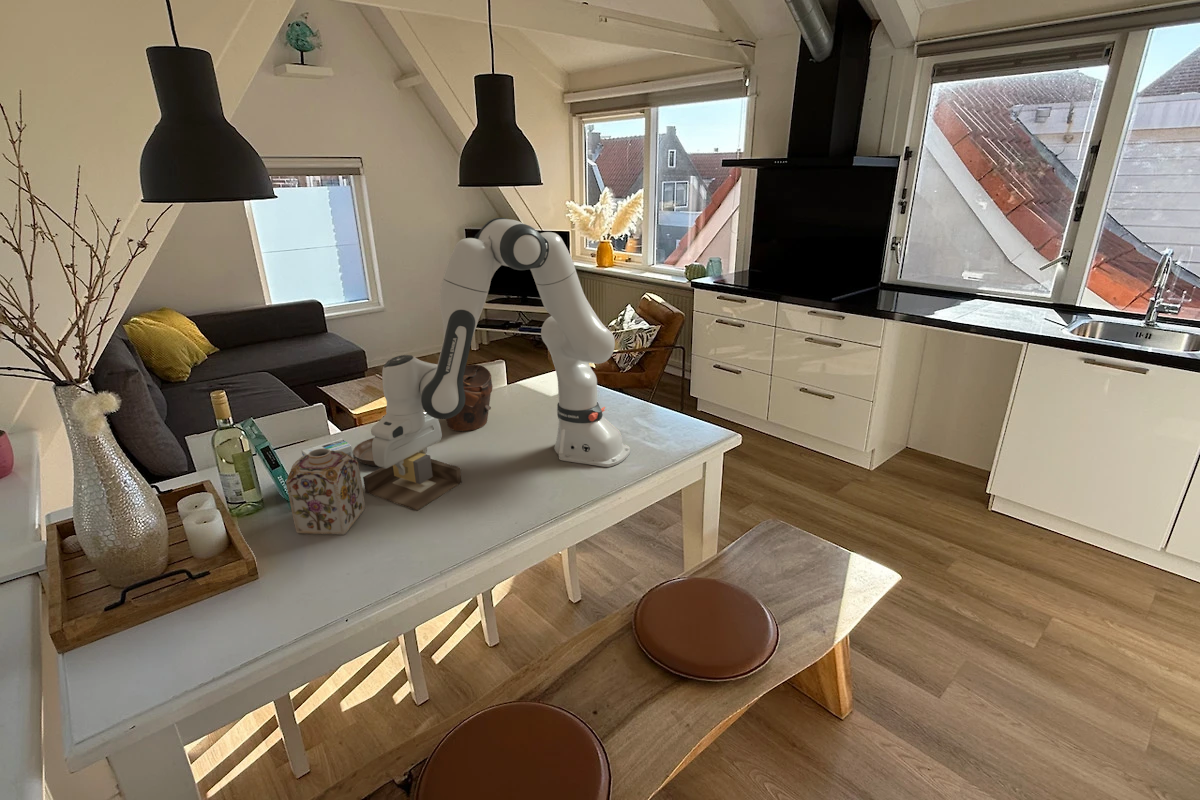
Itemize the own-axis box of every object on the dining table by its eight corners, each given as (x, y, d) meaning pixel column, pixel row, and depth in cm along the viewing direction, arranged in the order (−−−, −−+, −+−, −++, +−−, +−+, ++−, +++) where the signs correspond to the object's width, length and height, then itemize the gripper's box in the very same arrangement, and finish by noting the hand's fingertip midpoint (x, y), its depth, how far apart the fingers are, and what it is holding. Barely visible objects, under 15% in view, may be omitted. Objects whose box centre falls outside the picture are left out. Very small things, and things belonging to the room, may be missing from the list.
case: (437, 439, 184) (433, 383, 177) (438, 415, 202) (434, 364, 196) (496, 434, 188) (494, 379, 181) (492, 411, 206) (489, 361, 200)
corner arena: (461, 482, 158) (460, 467, 156) (417, 510, 145) (415, 494, 143) (412, 467, 166) (410, 452, 165) (365, 492, 153) (362, 477, 152)
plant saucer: (386, 438, 185) (385, 429, 183) (431, 450, 177) (430, 440, 176) (340, 462, 170) (338, 452, 169) (387, 475, 162) (386, 465, 161)
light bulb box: (348, 473, 163) (341, 437, 159) (358, 481, 159) (352, 444, 155) (307, 486, 156) (300, 449, 152) (317, 496, 152) (310, 457, 148)
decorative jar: (294, 534, 136) (279, 463, 129) (319, 507, 147) (306, 440, 140) (346, 536, 135) (333, 464, 129) (367, 508, 146) (357, 441, 140)
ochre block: (407, 468, 160) (404, 448, 158) (432, 476, 156) (430, 455, 154) (394, 475, 156) (391, 455, 154) (419, 484, 152) (417, 462, 150)
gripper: (426, 404, 160) (432, 451, 165) (365, 431, 143) (372, 482, 148) (444, 408, 157) (449, 456, 162) (383, 436, 141) (391, 488, 146)
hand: (412, 469), depth 155 cm, fingers closed on ochre block, 4 cm apart
